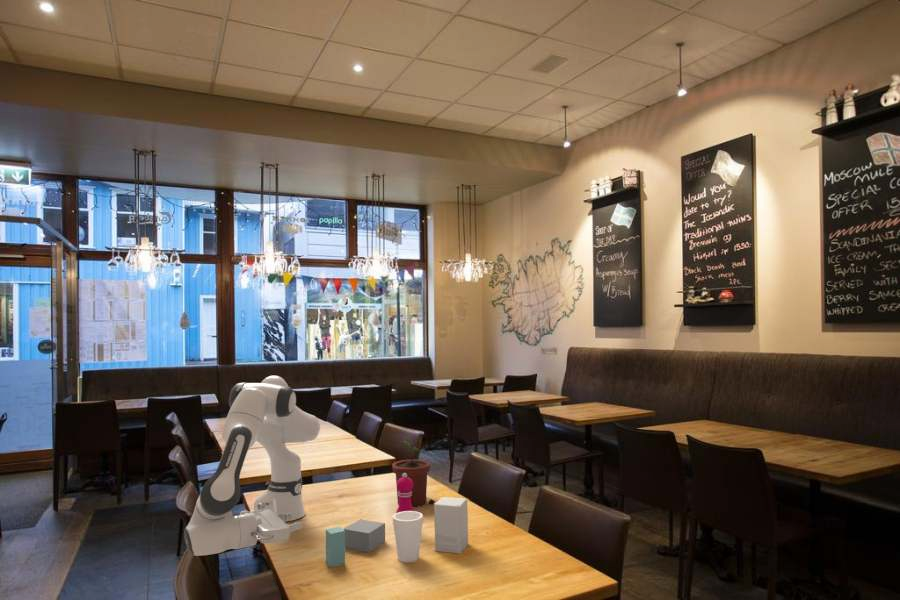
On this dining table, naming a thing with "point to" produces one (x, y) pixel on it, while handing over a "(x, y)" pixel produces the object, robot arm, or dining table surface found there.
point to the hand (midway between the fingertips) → (296, 520)
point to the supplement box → (451, 524)
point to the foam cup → (408, 534)
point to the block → (335, 546)
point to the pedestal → (364, 535)
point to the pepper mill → (404, 493)
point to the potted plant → (414, 477)
